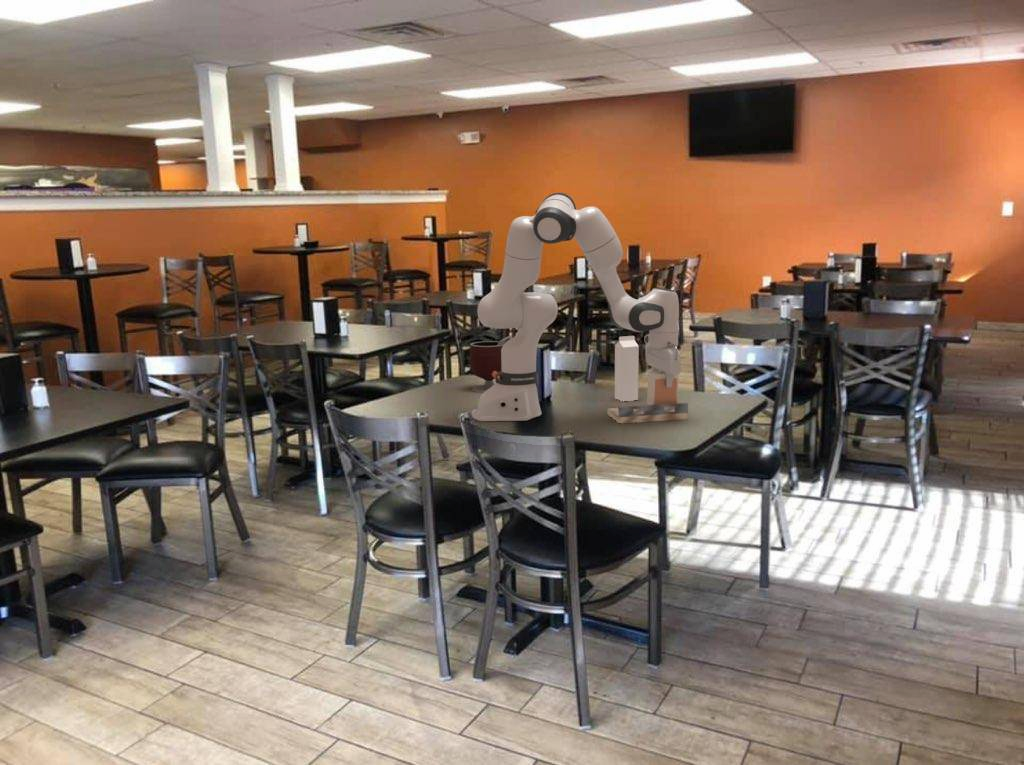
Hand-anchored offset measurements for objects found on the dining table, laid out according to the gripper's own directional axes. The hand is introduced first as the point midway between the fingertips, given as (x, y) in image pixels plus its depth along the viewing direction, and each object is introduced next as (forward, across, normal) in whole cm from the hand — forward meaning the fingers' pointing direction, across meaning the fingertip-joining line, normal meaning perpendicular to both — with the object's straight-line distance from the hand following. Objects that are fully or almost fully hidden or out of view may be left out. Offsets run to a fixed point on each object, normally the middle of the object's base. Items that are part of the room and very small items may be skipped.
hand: (662, 383), depth 263 cm
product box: (+8, -1, 0) cm, 8 cm away
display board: (+10, 0, +5) cm, 11 cm away
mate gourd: (+11, +56, +44) cm, 72 cm away
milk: (+11, +25, +2) cm, 28 cm away
